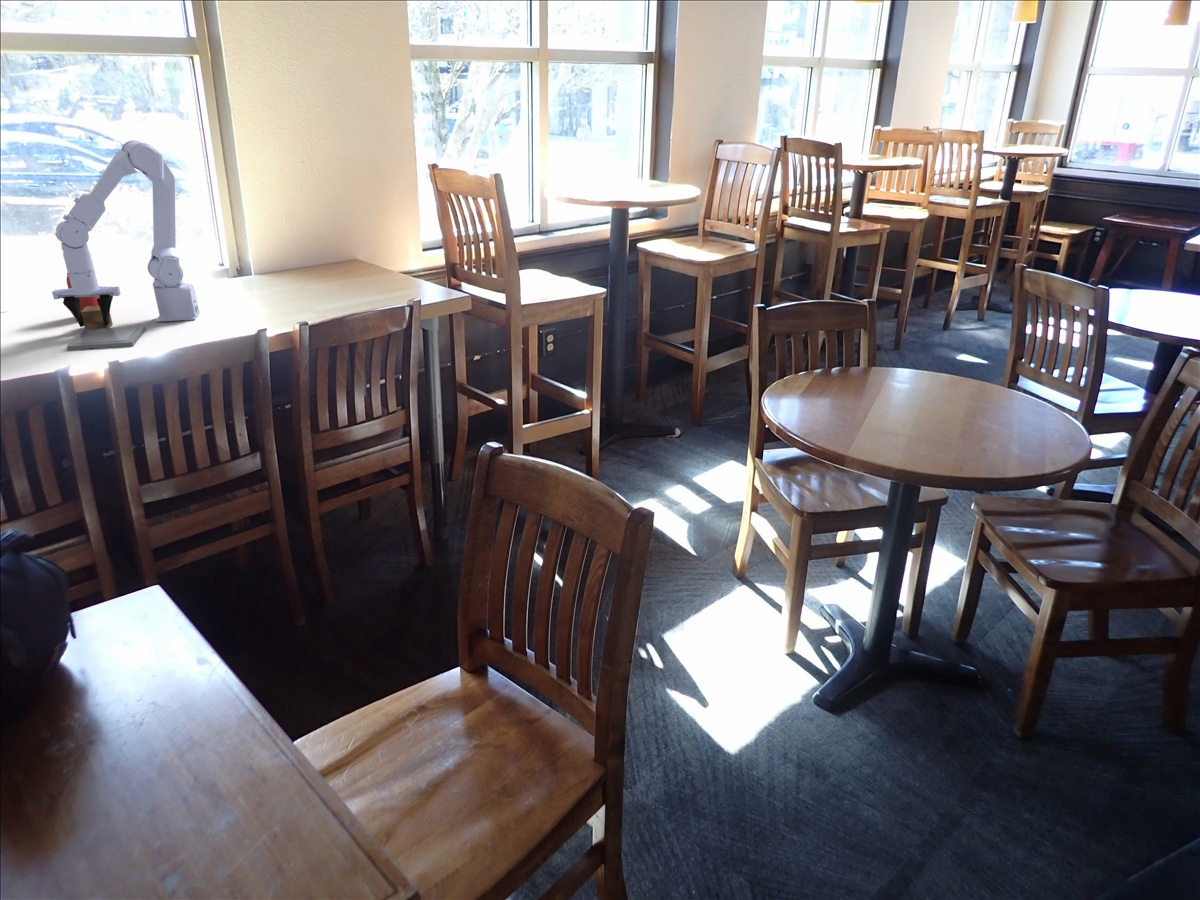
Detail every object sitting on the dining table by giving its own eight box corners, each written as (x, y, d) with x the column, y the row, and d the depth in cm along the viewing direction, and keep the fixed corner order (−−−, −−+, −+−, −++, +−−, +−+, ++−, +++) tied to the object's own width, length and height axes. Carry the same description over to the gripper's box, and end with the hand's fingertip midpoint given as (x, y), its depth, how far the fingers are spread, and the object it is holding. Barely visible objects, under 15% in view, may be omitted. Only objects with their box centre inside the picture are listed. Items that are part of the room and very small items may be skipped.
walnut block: (112, 324, 216) (108, 305, 214) (107, 329, 212) (102, 310, 210) (91, 325, 215) (86, 306, 213) (85, 331, 211) (80, 311, 209)
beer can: (77, 315, 224) (65, 270, 219) (105, 312, 227) (94, 268, 221) (75, 321, 219) (62, 275, 213) (103, 318, 221) (92, 273, 216)
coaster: (146, 329, 212) (145, 325, 212) (133, 346, 200) (132, 341, 200) (85, 333, 209) (84, 329, 209) (68, 350, 197) (66, 345, 196)
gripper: (117, 266, 210) (130, 318, 216) (53, 269, 207) (67, 322, 213) (110, 272, 204) (123, 326, 210) (44, 275, 201) (59, 330, 206)
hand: (95, 325), depth 211 cm, fingers closed on walnut block, 5 cm apart
